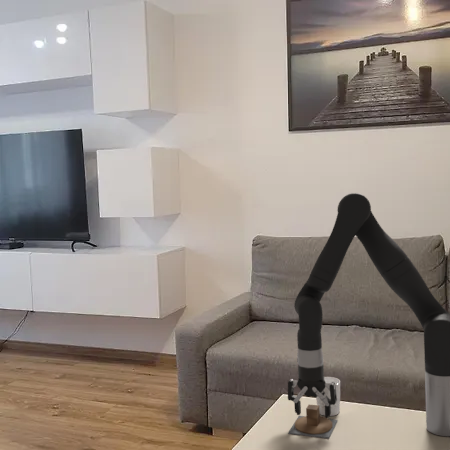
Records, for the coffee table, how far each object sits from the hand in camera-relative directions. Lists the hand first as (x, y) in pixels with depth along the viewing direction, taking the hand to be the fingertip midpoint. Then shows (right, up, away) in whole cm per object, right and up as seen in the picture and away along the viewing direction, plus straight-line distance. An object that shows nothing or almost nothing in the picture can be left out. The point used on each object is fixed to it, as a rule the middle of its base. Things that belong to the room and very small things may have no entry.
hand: (312, 415), depth 173 cm
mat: (0, -4, 0) cm, 4 cm away
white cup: (+7, -3, +11) cm, 13 cm away
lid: (0, -3, 0) cm, 3 cm away
